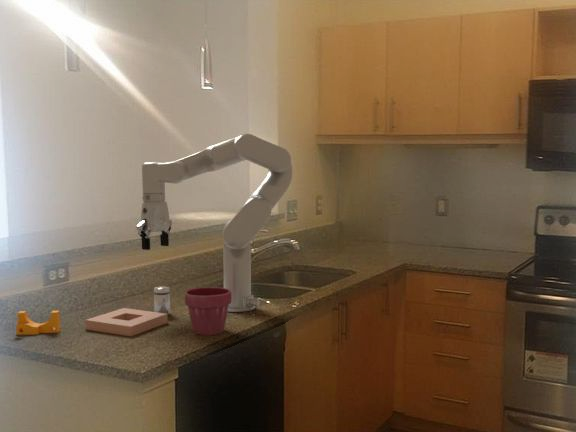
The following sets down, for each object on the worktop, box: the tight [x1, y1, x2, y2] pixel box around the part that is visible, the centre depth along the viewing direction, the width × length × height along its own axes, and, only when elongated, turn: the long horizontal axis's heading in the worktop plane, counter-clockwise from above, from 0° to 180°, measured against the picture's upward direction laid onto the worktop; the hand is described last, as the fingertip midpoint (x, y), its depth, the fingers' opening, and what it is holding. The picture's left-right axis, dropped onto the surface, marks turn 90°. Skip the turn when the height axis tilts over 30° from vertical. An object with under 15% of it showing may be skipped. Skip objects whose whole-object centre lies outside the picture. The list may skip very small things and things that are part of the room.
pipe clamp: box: [15, 310, 61, 336], centre depth 216 cm, size 12×4×6 cm, turn 93°
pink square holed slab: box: [84, 307, 168, 337], centre depth 223 cm, size 18×18×3 cm
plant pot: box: [184, 286, 231, 336], centre depth 216 cm, size 14×14×13 cm
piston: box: [153, 286, 171, 316], centre depth 239 cm, size 5×5×9 cm
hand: (155, 247), depth 242 cm, fingers open, 9 cm apart
